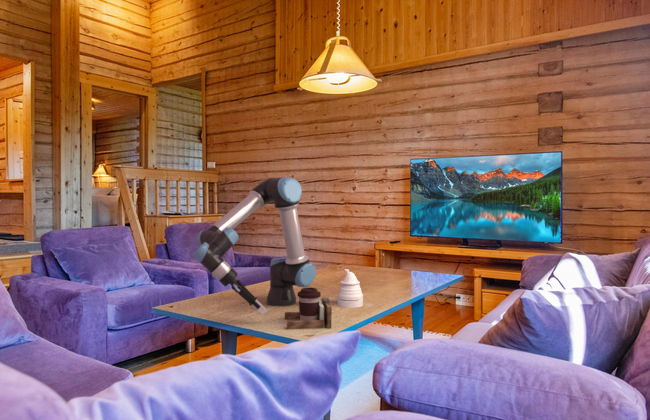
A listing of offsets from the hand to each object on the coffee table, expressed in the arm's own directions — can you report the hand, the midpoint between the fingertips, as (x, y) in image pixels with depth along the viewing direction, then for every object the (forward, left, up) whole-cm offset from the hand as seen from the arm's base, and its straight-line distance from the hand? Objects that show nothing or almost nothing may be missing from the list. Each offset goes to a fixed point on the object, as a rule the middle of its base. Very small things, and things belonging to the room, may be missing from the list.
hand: (264, 312), depth 196 cm
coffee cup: (+16, +11, -6) cm, 20 cm away
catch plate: (+19, +14, -5) cm, 24 cm away
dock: (+15, +11, -5) cm, 19 cm away
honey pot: (+18, +51, -6) cm, 54 cm away
